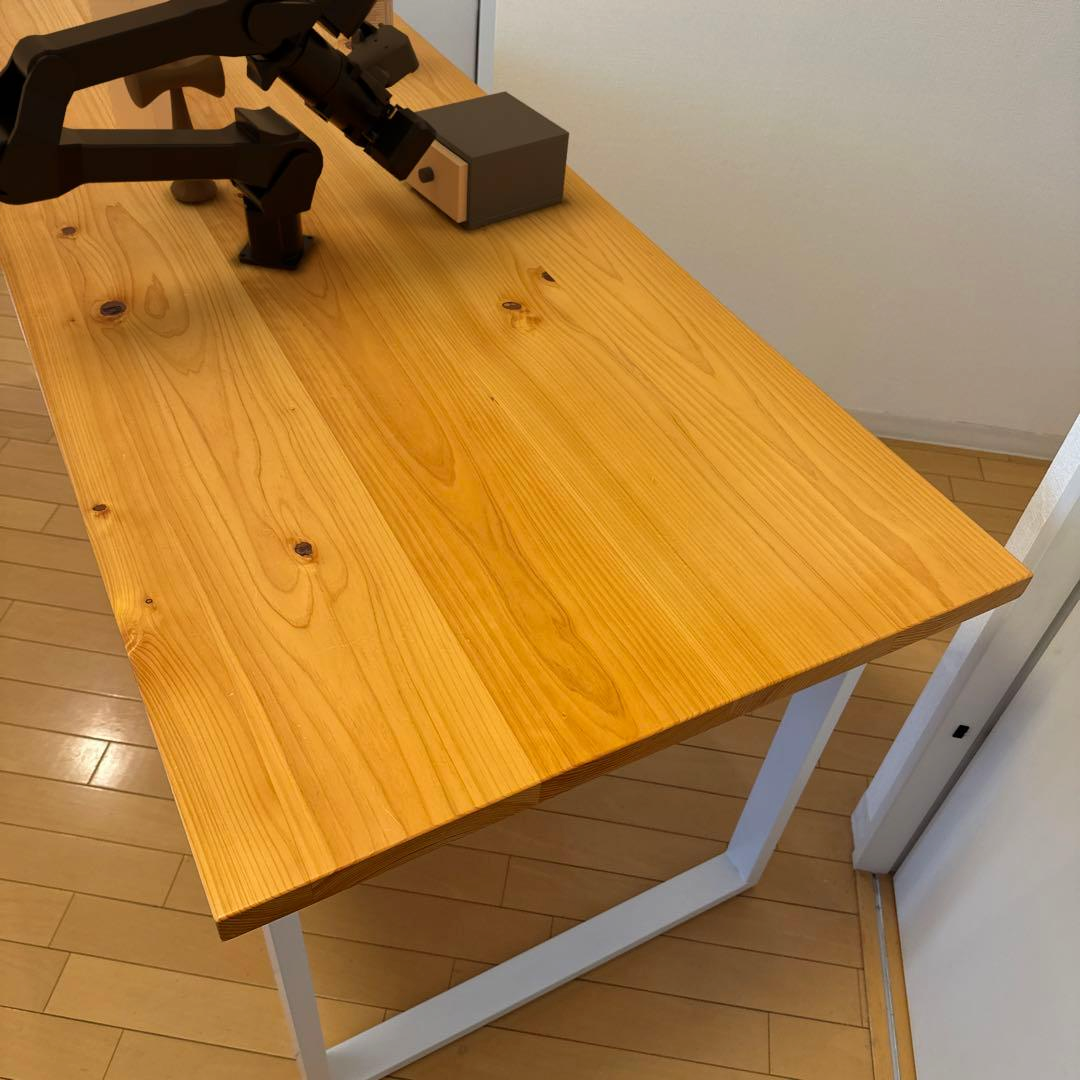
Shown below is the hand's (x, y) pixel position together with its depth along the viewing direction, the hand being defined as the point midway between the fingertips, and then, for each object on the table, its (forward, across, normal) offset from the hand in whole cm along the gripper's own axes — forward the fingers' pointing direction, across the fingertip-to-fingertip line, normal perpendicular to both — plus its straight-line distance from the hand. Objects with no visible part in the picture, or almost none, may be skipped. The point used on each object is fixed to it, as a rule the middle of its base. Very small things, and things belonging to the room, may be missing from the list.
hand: (415, 159), depth 112 cm
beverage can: (+17, +39, -8) cm, 43 cm away
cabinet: (+12, 0, -3) cm, 12 cm away
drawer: (+9, 0, -2) cm, 9 cm away
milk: (-8, +29, +18) cm, 35 cm away
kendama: (-9, +16, +19) cm, 26 cm away
